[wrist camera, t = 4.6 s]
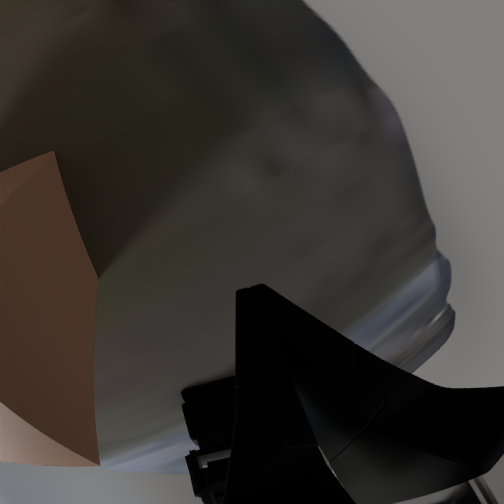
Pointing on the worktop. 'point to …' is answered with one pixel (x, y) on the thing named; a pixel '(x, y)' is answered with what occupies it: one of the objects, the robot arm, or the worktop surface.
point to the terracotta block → (45, 322)
